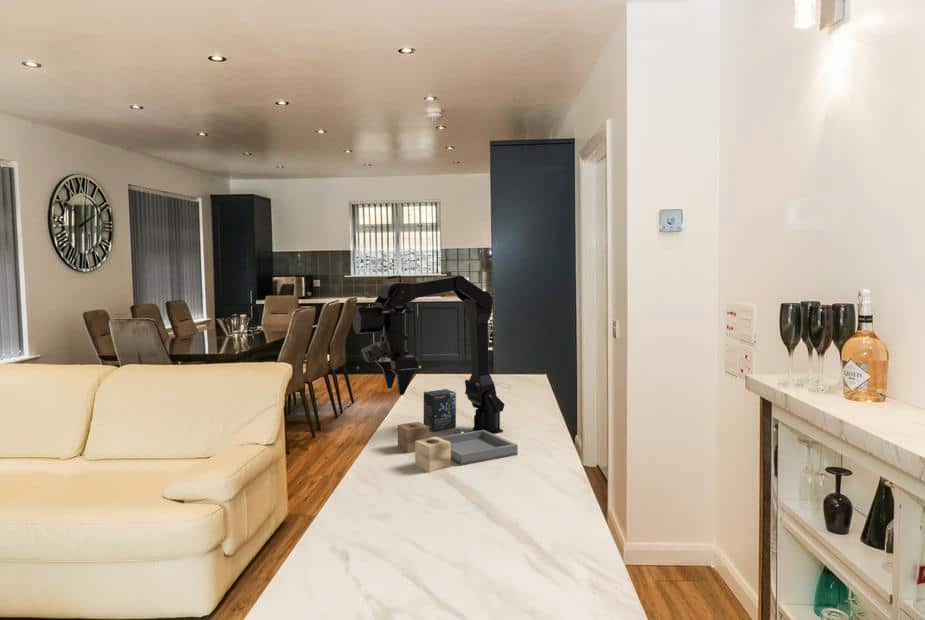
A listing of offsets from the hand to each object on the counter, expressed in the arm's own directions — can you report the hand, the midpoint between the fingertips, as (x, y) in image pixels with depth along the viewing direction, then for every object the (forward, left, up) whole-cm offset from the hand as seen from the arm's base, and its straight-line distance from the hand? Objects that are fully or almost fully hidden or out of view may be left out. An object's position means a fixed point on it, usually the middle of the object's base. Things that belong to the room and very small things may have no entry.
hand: (395, 391), depth 163 cm
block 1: (-3, +4, -15) cm, 15 cm away
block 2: (-1, +19, -15) cm, 24 cm away
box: (-18, -10, -15) cm, 26 cm away
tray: (-15, +14, -14) cm, 25 cm away
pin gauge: (-12, +3, -14) cm, 19 cm away
